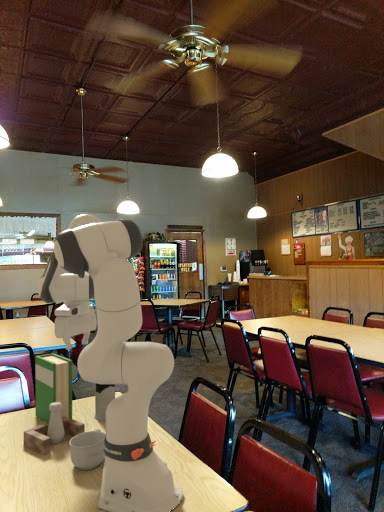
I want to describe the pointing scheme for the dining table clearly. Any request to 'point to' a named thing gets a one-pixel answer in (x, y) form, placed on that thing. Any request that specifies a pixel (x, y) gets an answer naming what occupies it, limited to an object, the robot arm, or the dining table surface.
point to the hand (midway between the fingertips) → (77, 346)
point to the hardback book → (53, 385)
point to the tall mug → (103, 399)
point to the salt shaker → (55, 423)
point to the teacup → (87, 449)
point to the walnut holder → (42, 443)
